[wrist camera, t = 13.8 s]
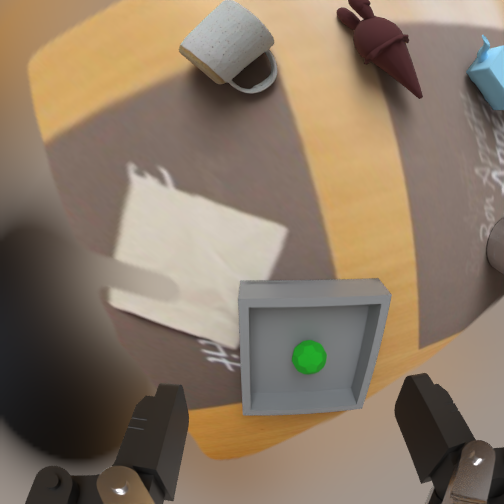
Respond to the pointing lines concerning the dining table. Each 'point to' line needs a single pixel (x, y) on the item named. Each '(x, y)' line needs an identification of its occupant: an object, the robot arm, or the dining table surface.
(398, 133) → the dining table surface
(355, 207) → the dining table surface
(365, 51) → the icecream
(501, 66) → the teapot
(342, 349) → the crate
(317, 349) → the polyhedron
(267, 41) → the ceramic mug
